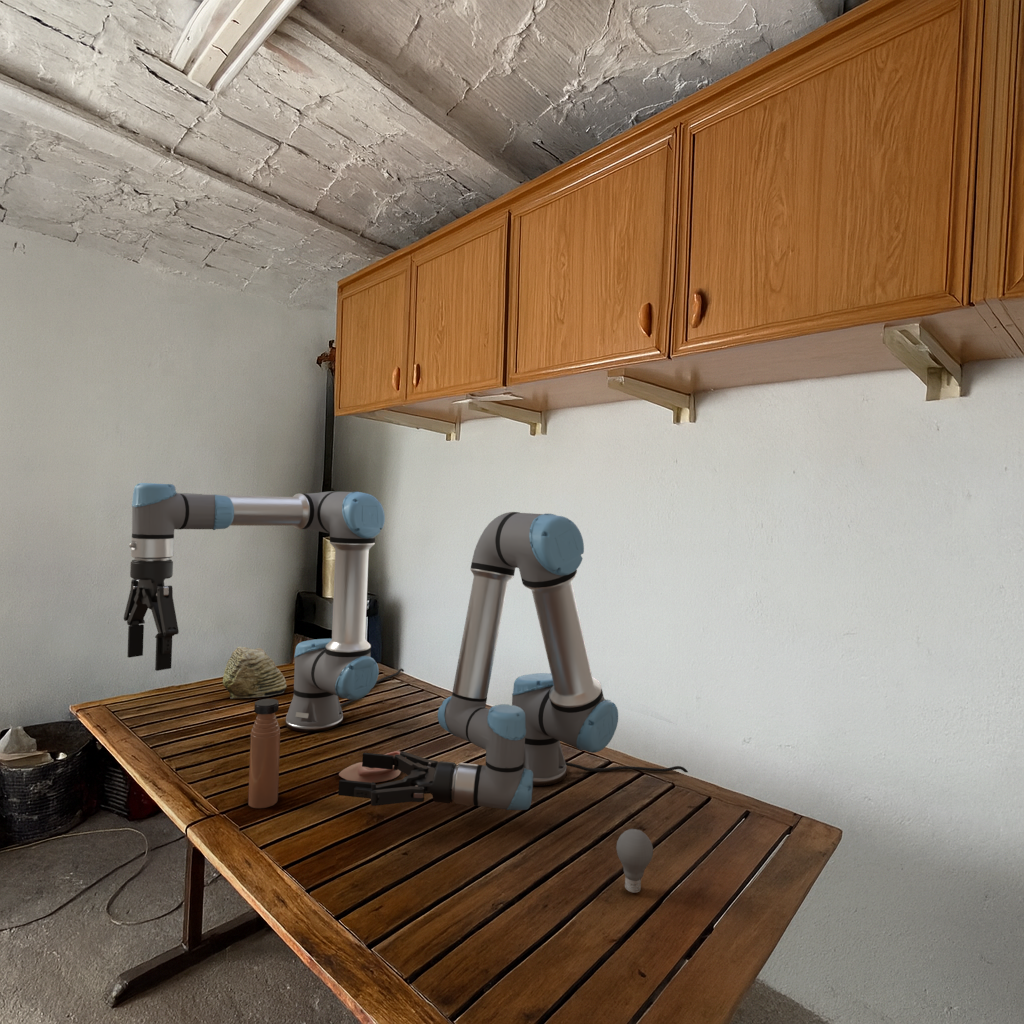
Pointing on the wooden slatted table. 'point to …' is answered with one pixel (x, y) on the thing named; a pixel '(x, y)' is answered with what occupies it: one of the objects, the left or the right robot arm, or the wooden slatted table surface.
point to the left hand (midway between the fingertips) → (148, 662)
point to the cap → (266, 706)
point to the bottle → (264, 762)
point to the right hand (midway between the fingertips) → (351, 772)
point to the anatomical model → (369, 772)
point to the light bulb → (634, 857)
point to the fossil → (252, 674)
